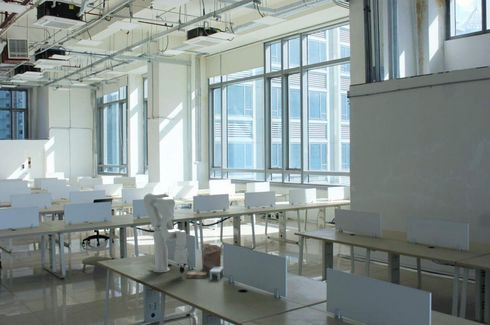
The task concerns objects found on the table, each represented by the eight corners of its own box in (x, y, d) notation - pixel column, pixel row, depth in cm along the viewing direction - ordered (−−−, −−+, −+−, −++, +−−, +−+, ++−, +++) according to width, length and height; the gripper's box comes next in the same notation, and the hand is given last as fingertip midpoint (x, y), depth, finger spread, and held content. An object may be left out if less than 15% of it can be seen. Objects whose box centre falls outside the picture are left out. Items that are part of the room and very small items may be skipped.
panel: (186, 278, 377) (186, 274, 377) (189, 275, 385) (189, 271, 385) (205, 278, 375) (205, 274, 375) (207, 276, 383) (207, 272, 382)
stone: (198, 270, 399) (198, 243, 398) (207, 267, 407) (207, 241, 406) (216, 273, 387) (216, 246, 387) (225, 270, 396) (225, 244, 395)
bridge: (209, 279, 371) (209, 271, 371) (214, 274, 385) (214, 266, 384) (219, 279, 370) (219, 271, 370) (223, 274, 384) (223, 266, 383)
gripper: (169, 248, 378) (170, 273, 378) (189, 248, 376) (190, 273, 376) (172, 246, 386) (173, 271, 386) (192, 246, 383) (193, 271, 383)
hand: (182, 272), depth 381 cm, fingers closed
